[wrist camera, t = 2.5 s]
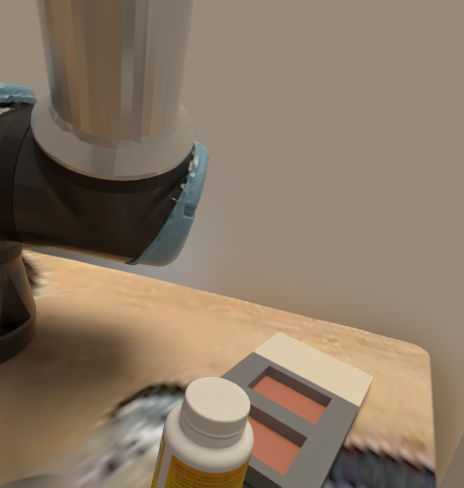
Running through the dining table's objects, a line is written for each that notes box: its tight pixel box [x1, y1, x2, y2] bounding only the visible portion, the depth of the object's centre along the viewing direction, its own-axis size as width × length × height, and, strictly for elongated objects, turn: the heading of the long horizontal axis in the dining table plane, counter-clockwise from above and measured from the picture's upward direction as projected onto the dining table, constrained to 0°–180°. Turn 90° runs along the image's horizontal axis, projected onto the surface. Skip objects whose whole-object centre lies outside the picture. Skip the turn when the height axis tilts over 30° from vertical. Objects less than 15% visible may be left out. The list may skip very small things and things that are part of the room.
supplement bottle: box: [151, 377, 254, 488], centre depth 23 cm, size 5×5×10 cm
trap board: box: [220, 332, 374, 488], centre depth 38 cm, size 21×12×2 cm, turn 149°
